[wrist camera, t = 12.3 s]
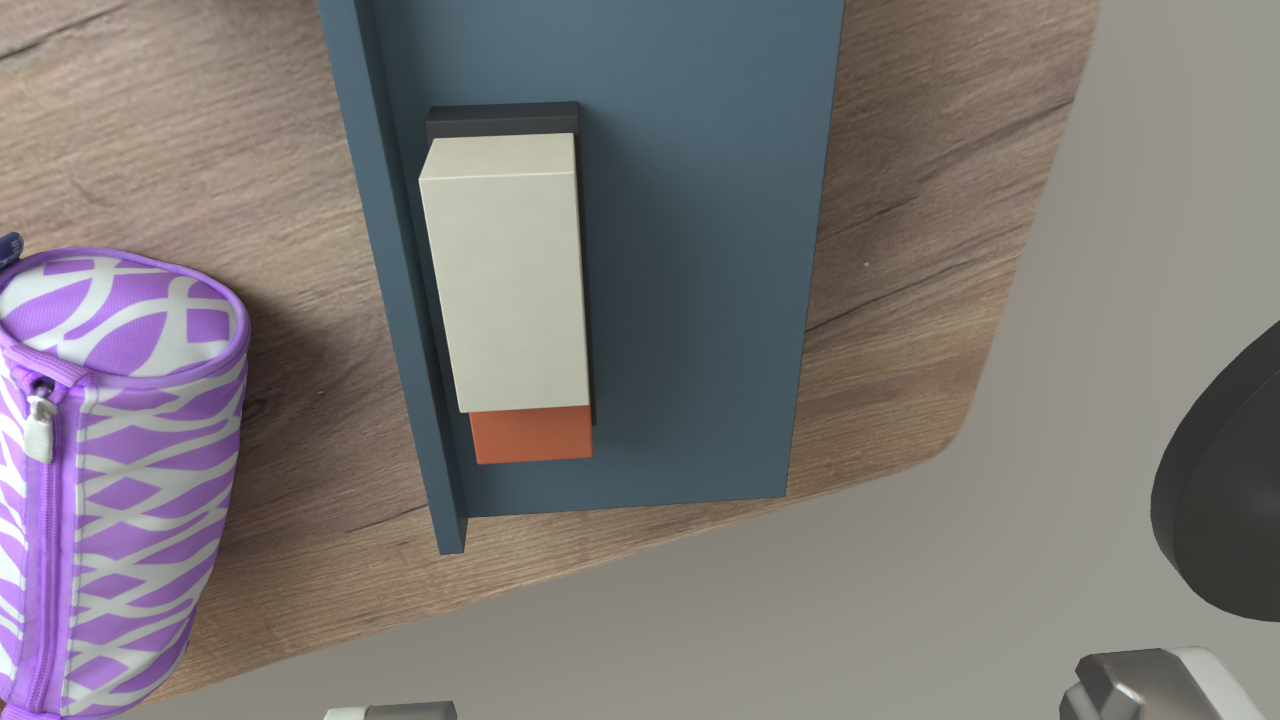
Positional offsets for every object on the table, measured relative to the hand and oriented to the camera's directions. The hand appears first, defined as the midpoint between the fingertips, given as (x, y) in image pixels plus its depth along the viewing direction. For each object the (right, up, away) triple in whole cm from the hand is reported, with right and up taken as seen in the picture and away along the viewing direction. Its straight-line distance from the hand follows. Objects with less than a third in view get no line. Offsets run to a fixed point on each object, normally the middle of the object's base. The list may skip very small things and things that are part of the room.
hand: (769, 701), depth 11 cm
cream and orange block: (-6, +7, +18) cm, 21 cm away
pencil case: (-25, +1, +28) cm, 38 cm away
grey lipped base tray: (-3, +11, +23) cm, 26 cm away
